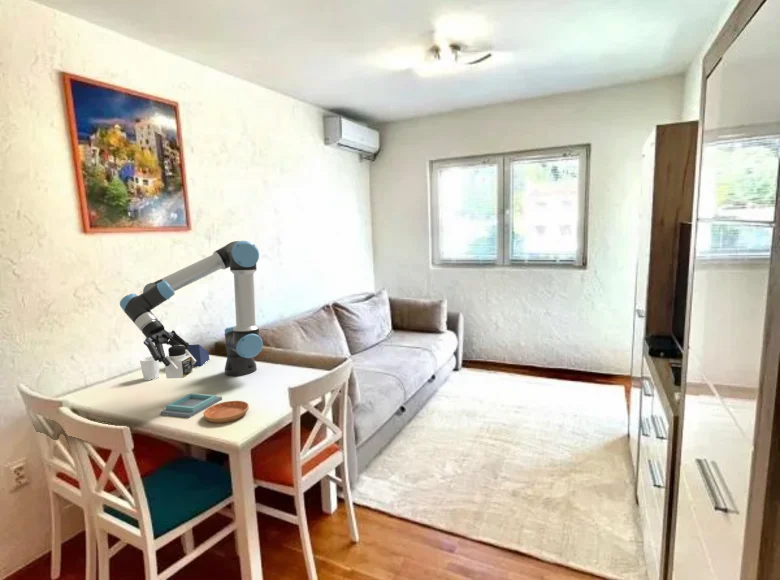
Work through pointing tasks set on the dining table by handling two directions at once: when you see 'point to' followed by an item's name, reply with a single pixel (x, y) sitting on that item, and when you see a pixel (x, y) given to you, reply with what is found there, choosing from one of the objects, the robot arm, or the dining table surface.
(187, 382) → the dining table surface
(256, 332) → the robot arm
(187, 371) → the medicine bottle
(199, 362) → the blue wedge block
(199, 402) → the dock
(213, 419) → the saucer
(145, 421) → the dining table surface
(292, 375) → the dining table surface
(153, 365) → the white cup
